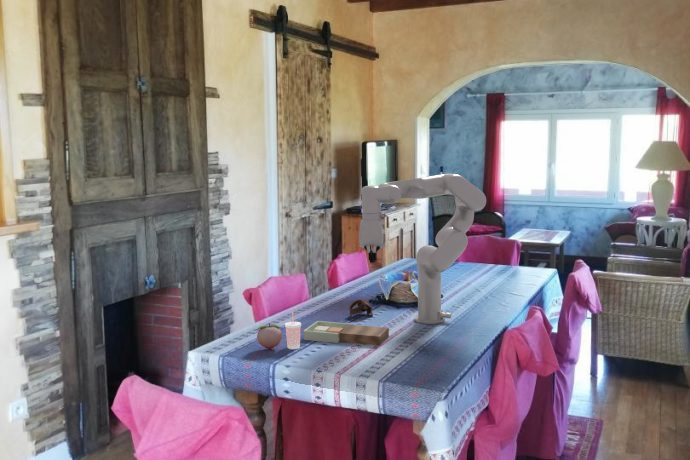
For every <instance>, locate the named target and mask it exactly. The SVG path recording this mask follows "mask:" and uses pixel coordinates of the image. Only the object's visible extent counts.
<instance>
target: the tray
mask: <svg viewBox="0 0 690 460" xmlns="http://www.w3.org/2000/svg"><path fill="white" fill-rule="evenodd" d="M348 325H352V323H349V322H338V321H337V322H334V321H325V320H316V321H314V322H313V323H312V324H311V325H309V326H307V328H305V329H303V330H302V331H303V340H304V341H313V342H315V341H316V342H325V343H327V342H328V343H335V344H339V343H340V342H339V334H338V333H329V332H318V331H314V329H315V328H316V327H317V326H328V327H330V328H331V327H338V328H344V329H345V328H346V327H347V326H348Z"/></svg>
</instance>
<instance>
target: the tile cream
mask: <svg viewBox="0 0 690 460" xmlns="http://www.w3.org/2000/svg"><path fill="white" fill-rule="evenodd" d="M328 329H330V327H328V326H317V327H316V328H315V329H314V331H318V332H327V330H328Z"/></svg>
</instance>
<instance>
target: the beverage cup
mask: <svg viewBox="0 0 690 460" xmlns="http://www.w3.org/2000/svg"><path fill="white" fill-rule="evenodd" d="M291 316H292V318H291V321H287V322H285V323H284V326H285V327H284V328H285V334H286V336H285V337H286V343H287V344H286V346H287V349H289V350H297V349H300V348H301V327H302V322H300V321H294V310H293V309H292V310H291Z"/></svg>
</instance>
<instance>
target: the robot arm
mask: <svg viewBox="0 0 690 460" xmlns="http://www.w3.org/2000/svg"><path fill="white" fill-rule="evenodd" d="M444 195H445V196H446V195H452V196H454V201H455V212H454V214H453V215H452V217H451V218H450V219H449V220H448V221H447V222H446V223H445V225H443V227H442V228H441V229H440V230H439V231H438V232H437V234H436V236H435V244H436V245H437V246H438V247H436V246H434V245H429V244H428V245H423V246H421V247H420V248H419V249H418V251H417V252H416V258H415V261H416V268H417V277H418V278H417V310H418V311H417V315H416V316H414V319H413V320H414V321H415V322H416V323H419V324H424V325H436V324H437V325H438V324H441V323H444V322H445V321H446V319H452V313H450V312H444V308H442V275H441V273H443V272H445V271H447V270H448V269H449V268H450V267H451V266H452V265H453V264H454V263H455V262H456V261H457V260H458V258H459V257H460V256H461V255H462V254H464V252H465V250H466V249H467V246H468V244H469V243H468V242H469V241H468V236H467V232H468V231H469V230H470V228H471V227H472V225H473V222H474V220H475V218H474V217H475V212H478V211H482V210H483V209H484V208H485V206H486V204H487V197H486V195H485V193H484V192H483V191H482V190H481V189H479V188H478V187H477V186H475V185H474V184H473V183H471V182H470V181H469V180H468V179H466V178H464V177H463V176H462V175H459V174H455V173H442V174H436V175H430V176H425V177H418V178H417V177H416V178H411V179H403V180H396V181H390V182H389V181H388V182H383V183H380V184H378V185H365V186H362V188H361V213H362V215H361V217H362V219H361V220H360V224H359V232H358V233H359V234H358V241H359V245H358V246H359V248H361V249H364V250H366V252H367V253H368V261H369V263H371V264H372V263H376V262H377V259H378V257H377V256H378V255H377V254H378V251H379V250H380V249H384V248H386V247H387V246H386V241H387V237H386V236H387V235H386V229H385V228H386V227H385V221H384V219H383V218H385V217H386V216H385V214H384V213H382V204H387V205H389V204H390V205H392V204H397V203H398V202H399V201H400V200H401V199H414V200H415V199H416V200H418V199H420V200H422V199H428V198H434V197H439V196H444ZM372 246H373V247H372Z"/></svg>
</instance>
